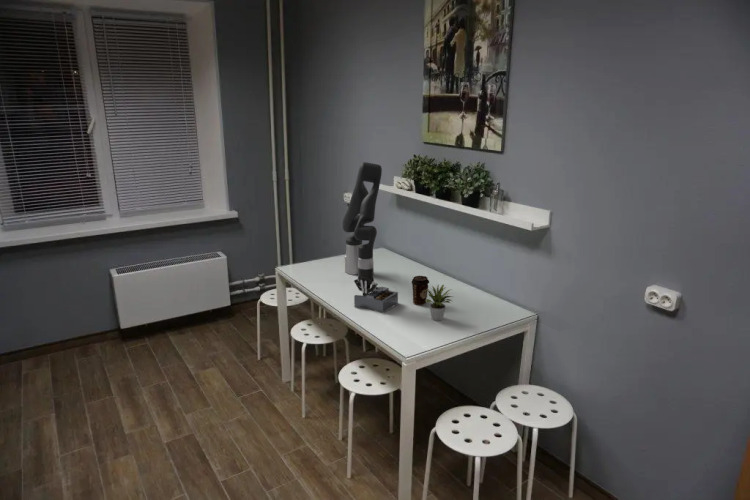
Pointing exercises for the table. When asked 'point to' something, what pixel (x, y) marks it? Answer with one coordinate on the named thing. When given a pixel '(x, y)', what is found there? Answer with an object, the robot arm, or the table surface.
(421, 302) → the coffee cup
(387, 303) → the coupler dock
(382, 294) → the block
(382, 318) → the table surface
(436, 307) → the house plant
